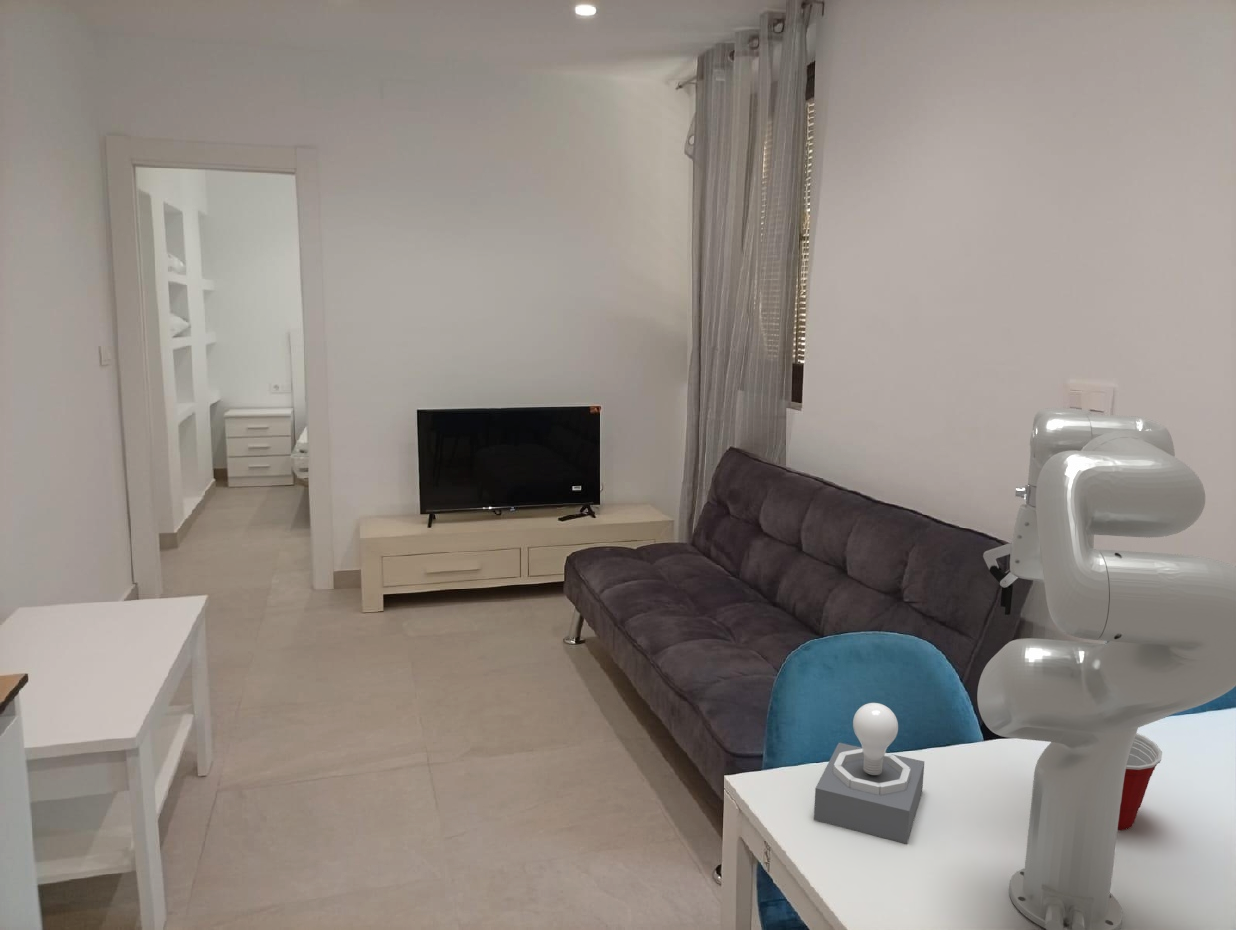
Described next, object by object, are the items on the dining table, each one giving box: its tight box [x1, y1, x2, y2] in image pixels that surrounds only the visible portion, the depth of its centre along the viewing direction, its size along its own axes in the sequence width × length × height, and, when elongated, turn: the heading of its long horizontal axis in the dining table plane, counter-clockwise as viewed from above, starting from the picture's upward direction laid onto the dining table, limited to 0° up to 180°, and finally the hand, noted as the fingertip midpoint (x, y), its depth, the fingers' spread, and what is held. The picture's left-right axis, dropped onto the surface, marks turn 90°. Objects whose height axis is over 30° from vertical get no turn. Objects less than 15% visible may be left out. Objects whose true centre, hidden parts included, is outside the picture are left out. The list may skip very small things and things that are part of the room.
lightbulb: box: [852, 702, 899, 776], centre depth 131 cm, size 6×6×11 cm
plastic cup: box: [1117, 733, 1163, 831], centre depth 128 cm, size 11×11×12 cm
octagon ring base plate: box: [813, 742, 925, 845], centre depth 133 cm, size 18×13×6 cm
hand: (1045, 617), depth 125 cm, fingers open, 9 cm apart
